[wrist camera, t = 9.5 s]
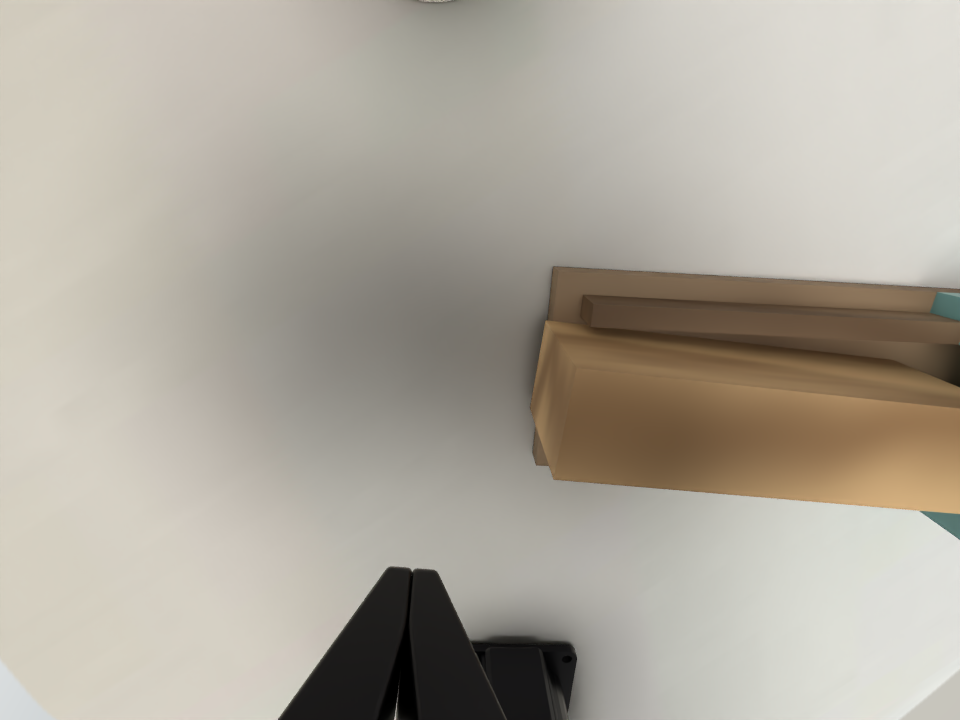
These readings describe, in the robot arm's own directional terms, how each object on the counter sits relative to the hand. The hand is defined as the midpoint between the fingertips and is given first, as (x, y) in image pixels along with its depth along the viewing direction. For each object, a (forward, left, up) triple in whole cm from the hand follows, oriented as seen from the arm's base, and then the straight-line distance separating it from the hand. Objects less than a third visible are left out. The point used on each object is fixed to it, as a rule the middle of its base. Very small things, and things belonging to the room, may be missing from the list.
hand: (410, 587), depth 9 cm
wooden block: (0, -11, -11) cm, 15 cm away
